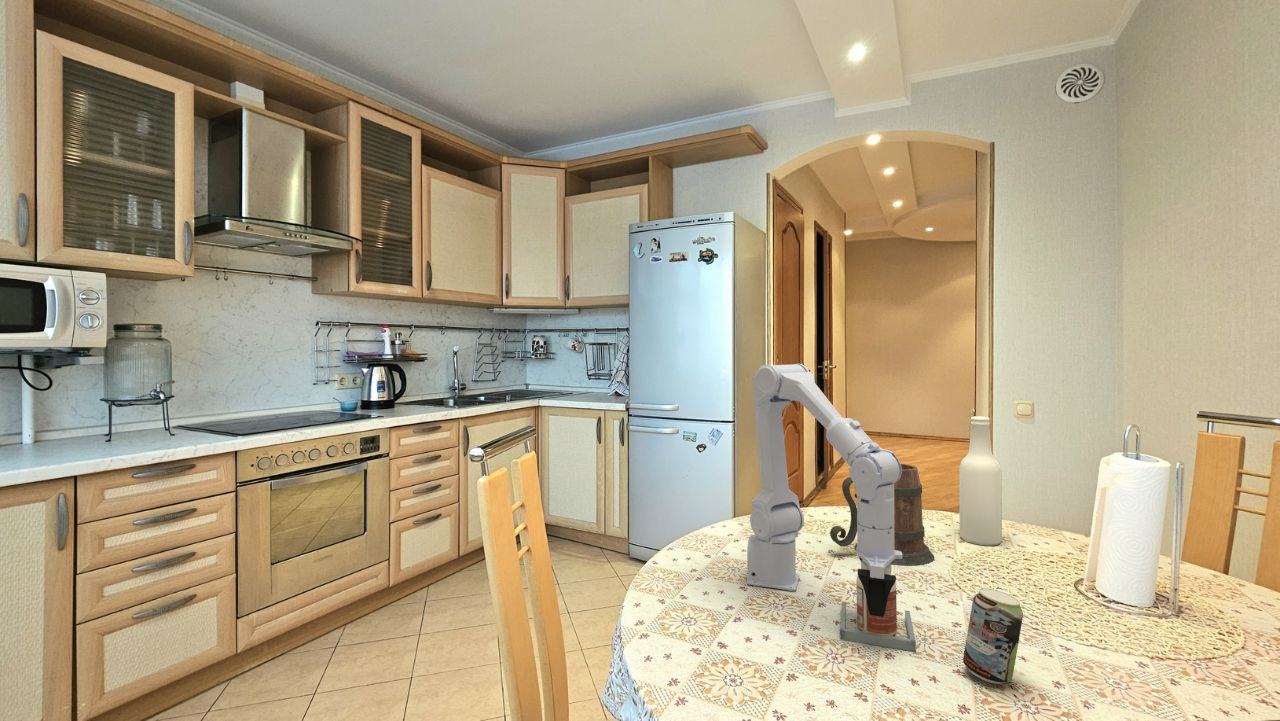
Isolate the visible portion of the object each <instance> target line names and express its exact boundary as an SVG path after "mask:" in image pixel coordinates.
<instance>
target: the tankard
mask: <svg viewBox="0 0 1280 721" xmlns="http://www.w3.org/2000/svg"><path fill="white" fill-rule="evenodd" d="M901 467H902V474H901V477H900V479H899V480H898V481H897V482H896V483H894V550H896V551H901V552H902V559H894V560H893V561H892V562H891V563H890V564H891V566H899V567H918V566H919V567H920V566H925V565H928V564H931V563H932V562H934V561H935V558H936V557H935V555H934V553H932V552H931V551H930V548H929V546H928V545H927V544H926V543H925V540H924V539H925V538H924V537H925V531H926V530H925V526H924V525H923V524H924V523H923V506H922V503H923V502H922V493H923V485H922V483H921V480H920V476H919V475H920V474H919V470H918V467H917V466H915V465H911V464H907V463H901ZM852 484H854V483H853V481H852V479H851V477H850V476H849V477H846V478H845V479H844V480H843V482H842V485H841V488H842V493H843V496H844V498H845V501H846V502H847V504H848V507H849V512H850V525H849V529H848V532H846V529H845V528H843V527H841V526H840V525H834V526H833V527H831V529H830V532H829V534H830V538H831V539H832V541H833V542H834V543H835V544H836V545H838V546H840V547H843V548H844V547H849V546H850V545H851V544H852V543H853V542H854V540H856V539H855V538H856V537H857V503H856V502H855V501H854V499H853V496H852V494H851V490H850V488H851V485H852ZM854 498H856V499H857V494H856V493H855V492H854ZM839 533H840V534H839ZM838 537H839V538H840V540H839V538H838ZM856 547H857V543H856V544H855V545H854V547H853V548H854V551H855V552H856Z"/></svg>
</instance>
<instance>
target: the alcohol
mask: <svg viewBox="0 0 1280 721" xmlns="http://www.w3.org/2000/svg"><path fill="white" fill-rule="evenodd" d="M970 420H971V421H970V424H971V425H970V427H971V428H970V433H969V434H970V435H969V450H968V452H967V454H966V455H965V457H963V458H962V460H961V461H960V464H959V466H958V467H959V468H958V471H959V472H958V473H959V476H958V477H959V489H958V490H959V491H958V492H959V495H958V496H959V500H958V501H959V509H958V510H959V514H958V515H959V536H960V538H961V539H962V540H963V541H964V542H967V543H970V544H973V545H978V546H984V547H985V546H987V547H989V546H990V547H991V546H992V547H993V545H995V546H998V545H1000V543H1001V542H1002V540H1003V521H1002V520H1003V470H1002V467H1001V464H1000V463H999V462H998V461H999V460H997V459H996V457H994V455H993V452H992V442H991V441H992V440H991V432H990V431H991V430H990V425H991V422H990V420H991V419H990V418H989V417H988V416H979V415H977V416H976V415H974V416H971V417H970Z"/></svg>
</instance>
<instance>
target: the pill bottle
mask: <svg viewBox="0 0 1280 721" xmlns="http://www.w3.org/2000/svg"><path fill="white" fill-rule="evenodd" d="M860 569H865V570H870V567H869V566H868V565H867V564H866V563H865V562H864V561H863V560H862V561H860ZM884 574H888V575H892V565H891V564H889V565H888V566H886V567H885V569H884ZM855 586H856V624H857V628H859V631H862V632H868V633H874V634H880V635H887V636H893V637H894V635H895V634H896V633H897V629H898V620H897V619H898V616H897V615H898V614H897V610H898V609H897V581H896V582H895V584H894V585H893V587H892V589H891V591H890V593H889V596H888V600H887V605H886V610H885V614H884V616H883V617H880V616H873V615H870V614H869V610H868V606H867V600H866V595H865V591H864V588H863V585H862V583H861V581H860V579H859V577H858V576H856V585H855Z"/></svg>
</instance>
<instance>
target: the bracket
mask: <svg viewBox="0 0 1280 721" xmlns="http://www.w3.org/2000/svg"><path fill="white" fill-rule="evenodd" d="M846 614H847V601H844V600H843V601H841V611H840V626H839V639H840V640H844V641H848V642H855V643H860V644H865V645H866V644H867V645H870V646H871V645H873V646H879V647H883V648H891V649H896V650H903V651H907V652H915V653H916V652H917V647H916V646H917V640H916V637H915V631H914V627H913V621H912V616H911V612H910V610H904V619H905V626H906V631H907V637H908V638H905V637H899V636H894V635H893V636H887V635H880V634H874V633H868V632H863V631H861V630H855V629H849V628H846V621H847V618H846V617H847V615H846Z"/></svg>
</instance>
